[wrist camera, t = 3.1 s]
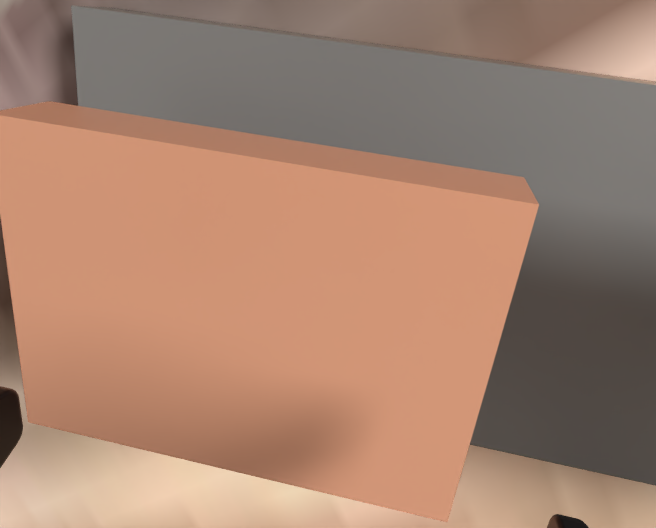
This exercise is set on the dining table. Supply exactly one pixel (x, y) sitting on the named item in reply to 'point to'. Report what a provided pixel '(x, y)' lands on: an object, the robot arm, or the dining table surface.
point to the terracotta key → (258, 298)
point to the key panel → (462, 151)
